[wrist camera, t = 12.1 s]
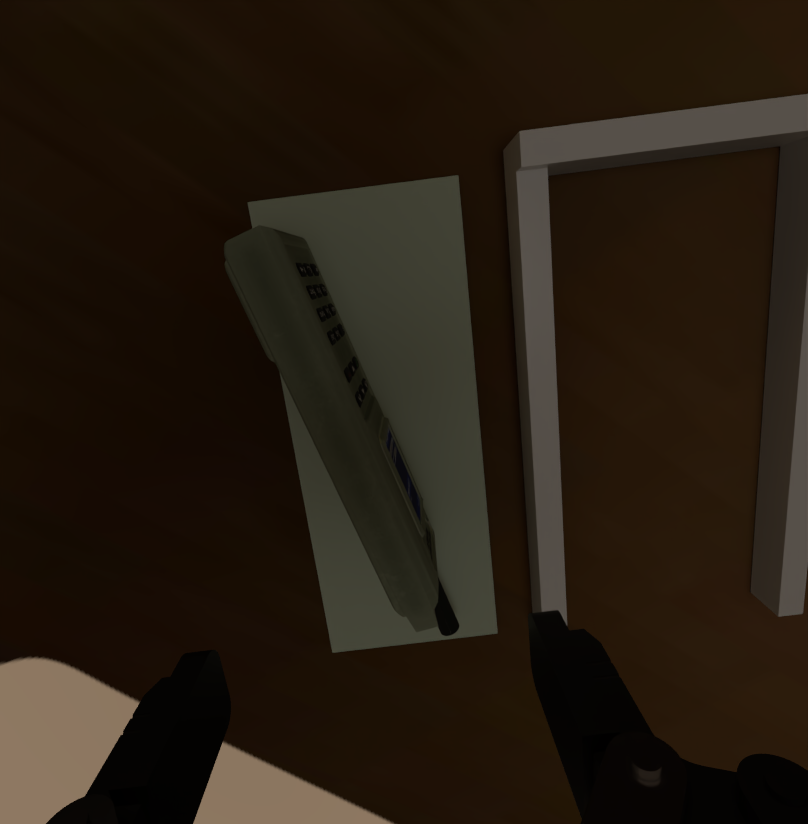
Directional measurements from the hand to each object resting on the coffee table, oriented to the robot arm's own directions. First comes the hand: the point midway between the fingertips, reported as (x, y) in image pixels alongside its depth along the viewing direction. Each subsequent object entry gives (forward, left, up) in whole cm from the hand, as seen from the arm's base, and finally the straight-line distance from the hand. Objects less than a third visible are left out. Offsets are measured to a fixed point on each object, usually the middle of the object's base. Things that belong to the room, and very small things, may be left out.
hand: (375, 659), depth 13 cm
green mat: (0, 0, -18) cm, 18 cm away
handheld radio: (-1, 0, -18) cm, 18 cm away
